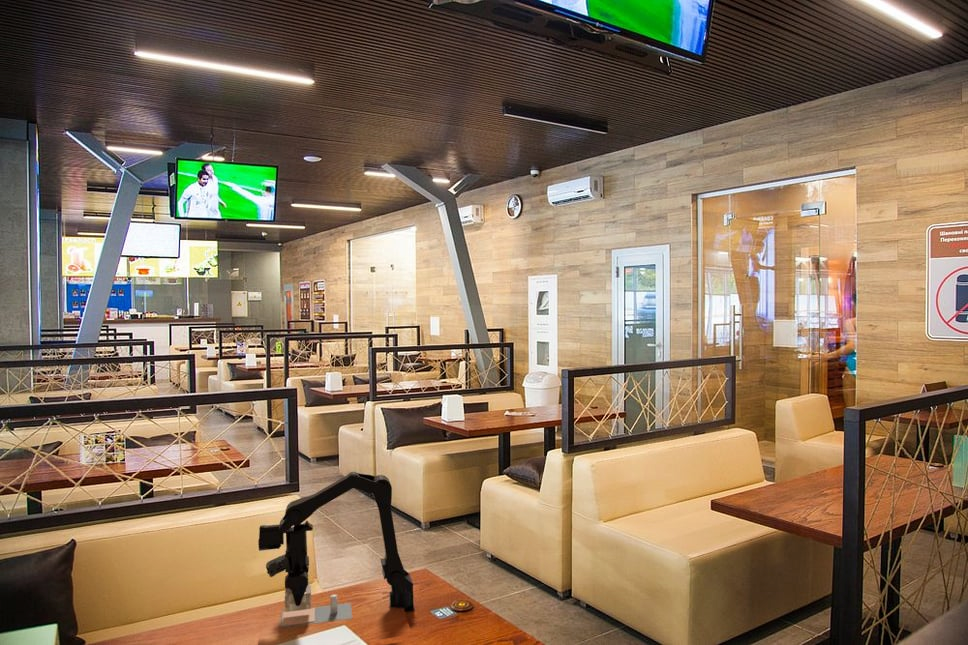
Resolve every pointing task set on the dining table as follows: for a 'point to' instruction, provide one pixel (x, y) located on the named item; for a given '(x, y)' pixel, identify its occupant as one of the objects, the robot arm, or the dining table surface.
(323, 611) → the stand board
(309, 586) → the beige square hollow block
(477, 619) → the dining table surface
